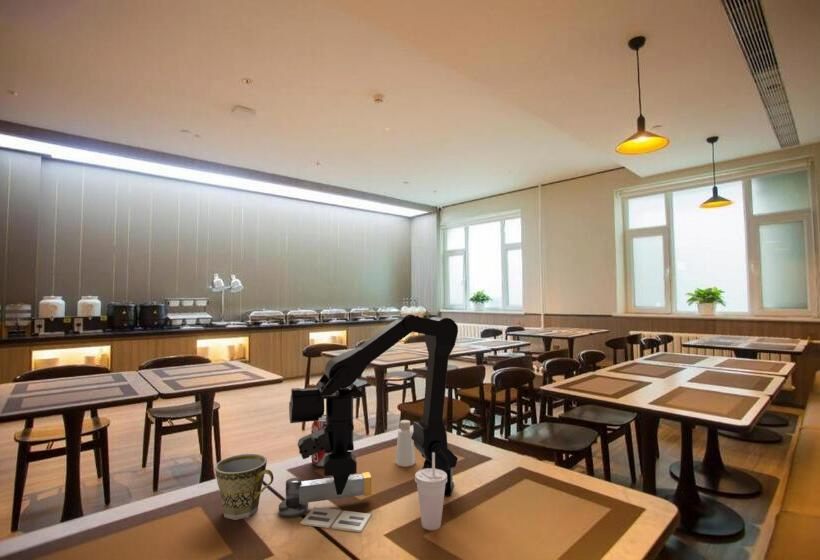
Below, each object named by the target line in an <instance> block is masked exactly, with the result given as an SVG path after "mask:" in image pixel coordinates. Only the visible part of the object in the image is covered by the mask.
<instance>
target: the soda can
mask: <svg viewBox="0 0 820 560" xmlns="http://www.w3.org/2000/svg"><path fill="white" fill-rule="evenodd" d="M325 423H326V414H324V415H322V418H319V420H318V421H312V423H311V433H310V434H312V433H314V432H316V431H320V430H322V429H324V427H325ZM329 454H330V453H324V449H323V450H322V451H320V452H318V453H315V454H313V455H311V456H310V457H311V463H312V464H313V465H314V466H316V467H320V468H324V459H325V457H326V456H328V455H329Z"/></svg>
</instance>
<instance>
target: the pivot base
mask: <svg viewBox="0 0 820 560" xmlns="http://www.w3.org/2000/svg"><path fill="white" fill-rule="evenodd" d="M307 512H309V503H302V504H300V505H298V506H295V507H288V506H286V499H284V500H282V501H281V502H280V503H279V504H278V515H279V517H282V518H285V519H295V518H299V517H301V516H304V515H305V514H306V513H307Z"/></svg>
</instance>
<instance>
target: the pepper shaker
mask: <svg viewBox="0 0 820 560" xmlns="http://www.w3.org/2000/svg"><path fill="white" fill-rule="evenodd" d="M399 427H400V428H399V430H398V431H397V432H398V433H397V441H396V450H395V451H396V452H395V459H394V461H395V465H397V466H400V467H404V468H406V467H411V466H413V465H415V464H416V454H415V446H414V440H412V439H411V437H412V435H413V431H412V430H411V421H410V420H408V419H402V420H400V422H399Z"/></svg>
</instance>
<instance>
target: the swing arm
mask: <svg viewBox="0 0 820 560" xmlns="http://www.w3.org/2000/svg"><path fill="white" fill-rule="evenodd" d="M358 496H364V497H367V496H372V476H371V473H370V471H367V472H362V473H359V474H350V476H349V478H348V480H347V483H346V485H345V488H344V490H343V493H342V494H341V495H337V493H336V488H335V483H334V478H333V477H326V478H317V479H310V480H309V479H308V480H302V478H299V477H291V478H289V479H287V480H285V500H286V506H288V507H295V506H298V505H300V504H302V503H308V504H309V503H314V502H315V503H316V502H322V501H323V502H324V501H329V500H336V499H343V498H351V497H358Z"/></svg>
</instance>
